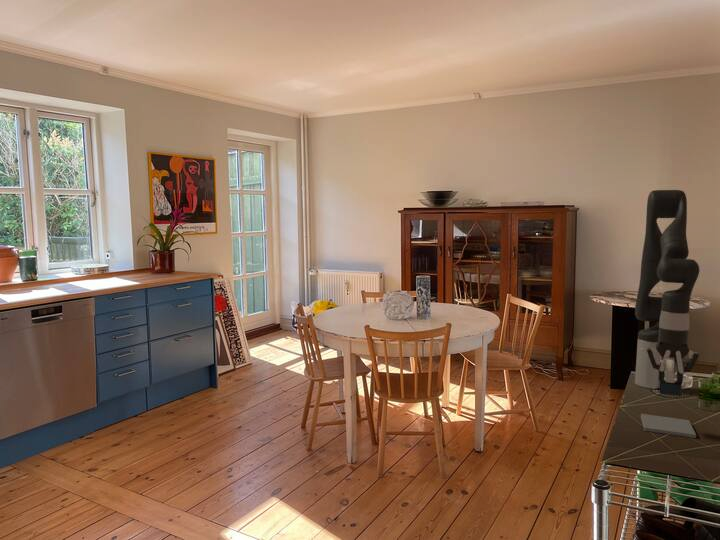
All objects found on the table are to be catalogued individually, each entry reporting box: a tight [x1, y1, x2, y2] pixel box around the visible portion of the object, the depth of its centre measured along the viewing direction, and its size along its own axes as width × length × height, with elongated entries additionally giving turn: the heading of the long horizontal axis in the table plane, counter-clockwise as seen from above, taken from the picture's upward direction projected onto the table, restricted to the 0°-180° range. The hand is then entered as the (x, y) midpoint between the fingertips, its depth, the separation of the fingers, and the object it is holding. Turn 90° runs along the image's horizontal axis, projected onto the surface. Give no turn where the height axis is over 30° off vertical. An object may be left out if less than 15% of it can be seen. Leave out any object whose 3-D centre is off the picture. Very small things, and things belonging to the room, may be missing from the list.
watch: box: [659, 357, 683, 397], centre depth 160 cm, size 6×8×11 cm
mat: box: [640, 413, 697, 439], centre depth 162 cm, size 12×13×1 cm
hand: (669, 383), depth 160 cm, fingers closed on watch, 3 cm apart
